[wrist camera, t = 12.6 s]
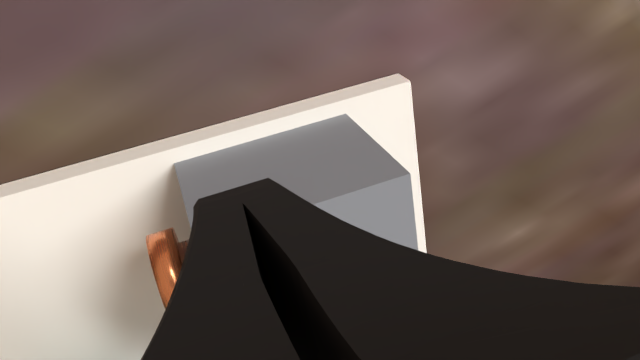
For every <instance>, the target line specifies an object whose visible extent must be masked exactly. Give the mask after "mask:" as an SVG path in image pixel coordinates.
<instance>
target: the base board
mask: <svg viewBox="0 0 640 360" xmlns="http://www.w3.org/2000/svg"><path fill="white" fill-rule="evenodd" d="M342 114H347V115H348V116H349V117H350V118H351V119H352V120H353V121H354V122H356V123H357V124H358V125H359V126H360V127H361V128H362V129H363V130H364V131H365V132H366V133H367V134H368V135H370V136H371V137H372V138H373V139H374V140H375V141H376V142H377V143H378V144H379V145H380V146H381V147H382V148H384V149H385V150H386V151H387V152H388V153H389V154H390V155H391V156H392V157H393V158H394V159H395V160H397V161H398V162H399V163H400V164H401V165H402V166H403V167H404V168H405V169H406V170H407V171H408V172H409V173H410V174H411V184H412V193H413V203H414V213H415V223H416V232H417V242H418V251H421V252H424V253H427V252H426V242H425V231H424V220H423V210H422V199H421V189H420V178H419V167H418V157H417V146H416V136H415V125H414V114H413V104H412V93H411V83H410V81H409V80H408V79H406V78H405V77H403V76H401V75H400V74H394V75H391V76H387V77H383V78H380V79H376V80H373V81H369V82H366V83H362V84H358V85H355V86H351V87H348V88H344V89H341V90H337V91H333V92H330V93H326V94H323V95H319V96H316V97H312V98H308V99H305V100H301V101H298V102H294V103H291V104H287V105H284V106H280V107H276V108H273V109H269V110H266V111H262V112H259V113H255V114H251V115H248V116H244V117H241V118H237V119H234V120H230V121H226V122H223V123H219V124H216V125H212V126H209V127H205V128H201V129H198V130H194V131H191V132H187V133H184V134H180V135H176V136H173V137H169V138H166V139H162V140H159V141H155V142H151V143H148V144H144V145H141V146H137V147H134V148H130V149H126V150H123V151H119V152H116V153H112V154H109V155H105V156H102V157H98V158H94V159H91V160H87V161H84V162H80V163H77V164H73V165H69V166H66V167H62V168H59V169H55V170H52V171H48V172H44V173H41V174H37V175H34V176H30V177H27V178H23V179H19V180H16V181H12V182H9V183H5V184H2V185H0V360H141V358H142V356H143V354H144V353H145V351H146V349H147V347H148V345H149V343H150V341H151V339H152V337H153V335H154V333H155V331H156V329H157V327H158V325H159V323H160V321H161V319H162V316H163V314H164V312H165V307H164V305H163V302H162V299H161V296H160V293H159V290H158V287H157V284H156V281H155V277H154V274H153V270H152V267H151V263H150V259H149V255H148V250H147V244H146V236H147V235H149V234H153V233H156V232H159V231H162V230H166V229H169V228H172V227H173V229H174V231H175V233H176V235H177V238H178V241H179V242H182V241H185V240H188V239H189V238H190V233H191V227H190V224H189V220H188V216H187V212H186V208H185V204H184V201H183V197H182V193H181V189H180V185H179V181H178V178H177V174H176V170H175V166H174V163H177V162H180V161H183V160H187V159H190V158H194V157H197V156H201V155H204V154H208V153H211V152H215V151H218V150H221V149H225V148H228V147H232V146H235V145H239V144H242V143H246V142H249V141H253V140H256V139H259V138H263V137H266V136H270V135H273V134H277V133H280V132H284V131H287V130H291V129H294V128H297V127H301V126H304V125H308V124H311V123H315V122H318V121H322V120H325V119H329V118H332V117H335V116H339V115H342Z"/></svg>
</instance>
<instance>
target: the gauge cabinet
mask: <svg viewBox="0 0 640 360" xmlns="http://www.w3.org/2000/svg"><path fill="white" fill-rule="evenodd" d="M174 166H175V170H176V174H177V178H178V181H179V185H180V189H181V193H182V197H183V201H184V204H185V208H186V212H187V216H188V220H189V224H190V227H191V228H192V222H193V207H194V205H195V203H196V202H197V200H198V199H200V198H203V197H206V196H210V195H213V194H216V193H220V192H223V191H226V190H229V189H233V188H236V187H239V186H243V185H246V184H249V183H252V182H256V181H259V180H262V179H266V178H270V179H272V180H273V181H275V182H277V183H279V184H280V185H282V186H283V187H285V188H287V189H288V190H290V191H291V192H293V193H295V194H296V195H298V196H300V197H301V198H303V199H305V200H306V201H308V202H310V203H311V204H313V205H315V206H317V207H318V208H320V209H322V210H324V211H326V212H328V213H329V214H331V215H333V216H335V217H337V218H339V219H341V220H343V221H345V222H347V223H349V224H351V225H353V226H356V227H358V228H360V229H363V230H365V231H367V232H369V233H372V234H374V235H376V236H379V237H381V238H384V239H386V240H389V241H392V242H394V243H397V244H400V245H403V246H406V247H409V248H412V249H415V250H418V242H417V232H416V223H415V213H414V203H413V193H412V184H411V174H410V173H409V172H408V171H407V170H406V169H405V168H404V167H403V166H402V165H401V164H400V163H399V162H398V161H397V160H395V159H394V158H393V157H392V156H391V155H390V154H389V153H388V152H387V151H386V150H385V149H384V148H382V147H381V146H380V145H379V144H378V143H377V142H376V141H375V140H374V139H373V138H372V137H371V136H370V135H368V134H367V133H366V132H365V131H364V130H363V129H362V128H361V127H360V126H359V125H358V124H357V123H356V122H354V121H353V120H352V119H351V118H350V117H349V116H348V115H347V114H342V115H339V116H335V117H332V118H329V119H325V120H322V121H318V122H315V123H311V124H308V125H304V126H301V127H297V128H294V129H291V130H287V131H284V132H280V133H277V134H273V135H270V136H266V137H263V138H259V139H256V140H253V141H249V142H246V143H242V144H239V145H235V146H232V147H228V148H225V149H221V150H218V151H215V152H211V153H208V154H204V155H201V156H197V157H194V158H190V159H187V160H183V161H180V162H177V163H174Z"/></svg>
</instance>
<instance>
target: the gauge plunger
mask: <svg viewBox="0 0 640 360" xmlns="http://www.w3.org/2000/svg"><path fill="white" fill-rule="evenodd" d="M188 242H189V239H188V240H185V241H182V242H179V241H178V238H177V235H176V233H175V231H174V229H173V227H172V228H169V229H166V230H162V231H159V232H156V233H153V234H149V235H147V236H146V244H147V250H148V255H149V259H150V263H151V267H152V270H153V274H154V277H155V281H156V284H157V287H158V290H159V293H160V296H161V299H162V302H163V305H164V307H165V310H166V307H167V305H168V302H169V300H170V297H171V294H172V292H173V289H174V287H175V284H176V281H177V279H178V276H179V273H180V270H181V267H182V263H183V260H184V256H185V253H186V249H187V246H188Z"/></svg>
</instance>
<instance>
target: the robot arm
mask: <svg viewBox="0 0 640 360" xmlns="http://www.w3.org/2000/svg"><path fill="white" fill-rule="evenodd" d="M141 360H640V287H627V286H612V285H597V284H584V283H575V282H568V281H560V280H553V279H546V278H538V277H531V276H525V275H519V274H513V273H507V272H502V271H496V270H492V269H487V268H483V267H478V266H474V265H470V264H465V263H461V262H456V261H452V260H449V259H445V258H441V257H438V256H434V255H431V254H428V253H424V252H421V251H418V250H415V249H412V248H409V247H406V246H403V245H400V244H397V243H394V242H392V241H389V240H386V239H384V238H381V237H379V236H376V235H374V234H372V233H369V232H367V231H365V230H363V229H360V228H358V227H356V226H353V225H351V224H349V223H347V222H345V221H343V220H341V219H339V218H337V217H335V216H333V215H331V214H329V213H328V212H326V211H324V210H322V209H320V208H318V207H317V206H315V205H313V204H311V203H310V202H308V201H306V200H305V199H303V198H301V197H300V196H298V195H296V194H295V193H293V192H291V191H290V190H288V189H287V188H285V187H283V186H282V185H280V184H279V183H277V182H275V181H273V180H272V179H270V178H266V179H262V180H259V181H256V182H252V183H249V184H246V185H243V186H239V187H236V188H233V189H229V190H226V191H223V192H220V193H216V194H213V195H210V196H206V197H203V198H200V199H198V200H197V202H196V203H195V205H194V207H193V222H192V228H191V233H190V238H189V242H188V246H187V249H186V253H185V256H184V260H183V263H182V267H181V270H180V273H179V276H178V279H177V281H176V284H175V287H174V289H173V292H172V294H171V297H170V300H169V302H168V305H167V307H166V310H165V312H164V314H163V316H162V319H161V321H160V323H159V325H158V327H157V329H156V331H155V333H154V335H153V337H152V339H151V341H150V343H149V345H148V347H147V349H146V351H145V353H144V354H143V356H142V358H141Z"/></svg>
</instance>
